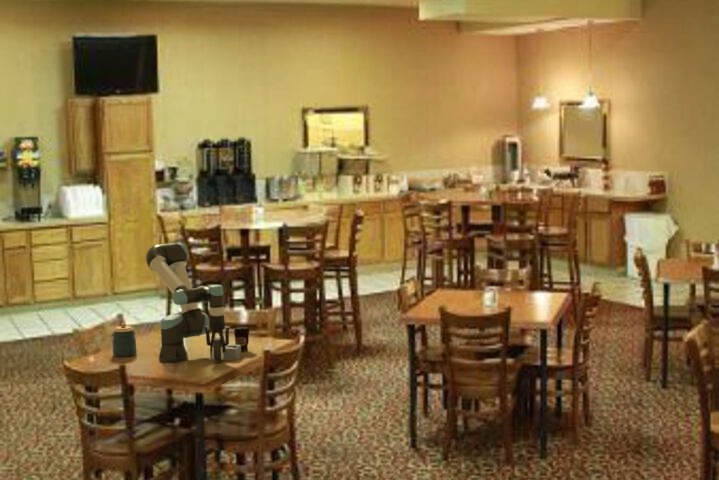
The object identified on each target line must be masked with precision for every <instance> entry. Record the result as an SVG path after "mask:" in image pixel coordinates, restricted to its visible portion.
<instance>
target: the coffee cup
mask: <svg viewBox="0 0 719 480" xmlns="http://www.w3.org/2000/svg"><path fill="white" fill-rule="evenodd" d="M233 334H234V343H235V344H234V345H241V353H245V352H249V348H248V346H249V340H250V339H249V335H250V329H249V327H248V326H240V327H235V328H234V330H233Z"/></svg>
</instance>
